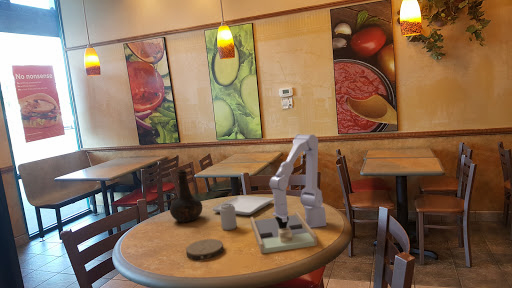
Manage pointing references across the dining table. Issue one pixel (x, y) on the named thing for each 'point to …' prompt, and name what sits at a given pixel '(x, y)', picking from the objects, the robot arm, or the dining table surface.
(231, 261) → the dining table surface
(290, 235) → the maple block
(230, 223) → the can
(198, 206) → the glass bottle
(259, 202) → the square plate
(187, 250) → the grey brown round disc
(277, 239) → the box
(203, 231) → the dining table surface
